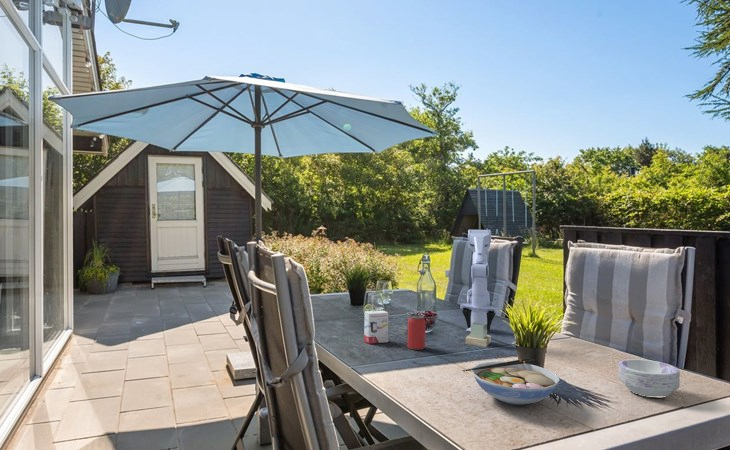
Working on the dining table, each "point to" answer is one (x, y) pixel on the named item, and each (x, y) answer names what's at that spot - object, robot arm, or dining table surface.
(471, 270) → the robot arm
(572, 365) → the dining table surface
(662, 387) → the paper bowls
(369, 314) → the ink box
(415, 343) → the beer can
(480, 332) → the cube
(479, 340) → the pedestal
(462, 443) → the dining table surface
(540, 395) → the ramen bowl
